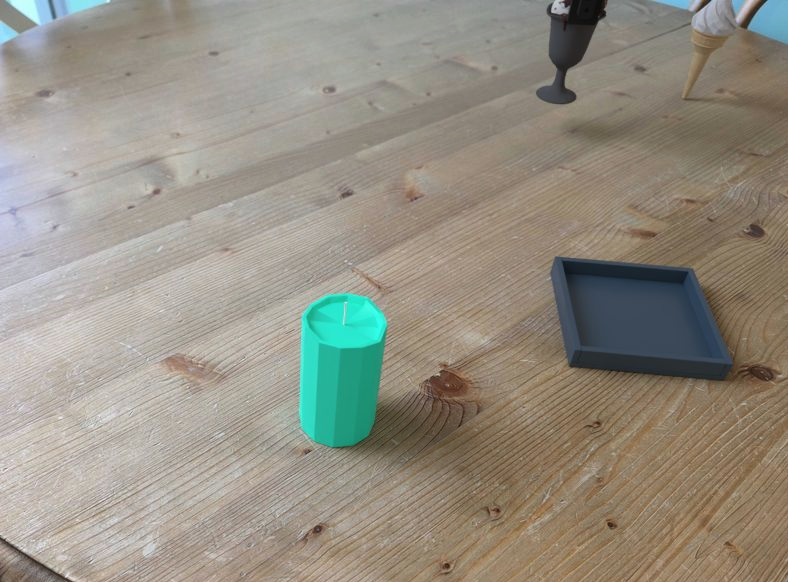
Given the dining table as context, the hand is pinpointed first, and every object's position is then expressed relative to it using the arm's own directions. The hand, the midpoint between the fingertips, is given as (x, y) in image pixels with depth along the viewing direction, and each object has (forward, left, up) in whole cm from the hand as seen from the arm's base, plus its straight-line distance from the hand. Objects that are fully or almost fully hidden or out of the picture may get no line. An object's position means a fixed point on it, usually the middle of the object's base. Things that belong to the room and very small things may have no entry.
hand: (576, 10), depth 85 cm
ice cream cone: (-21, -12, -15) cm, 28 cm away
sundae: (0, 0, -10) cm, 10 cm away
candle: (+22, +52, -15) cm, 58 cm away
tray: (-4, +37, -15) cm, 40 cm away
